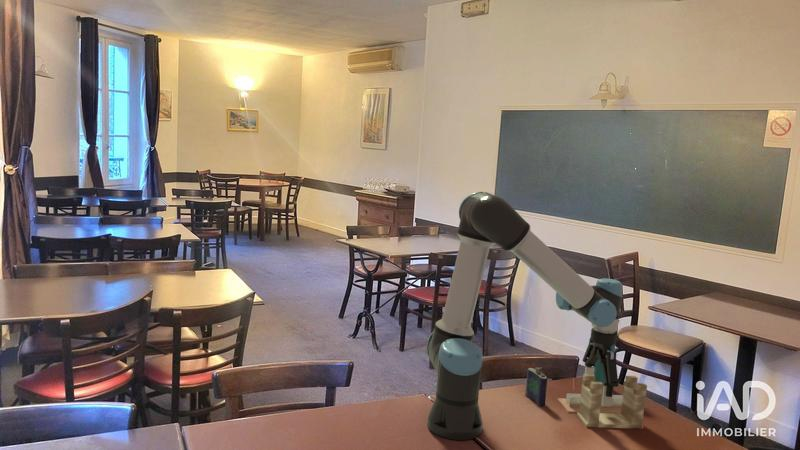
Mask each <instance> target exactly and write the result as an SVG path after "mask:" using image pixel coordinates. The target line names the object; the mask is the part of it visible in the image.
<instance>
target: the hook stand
mask: <svg viewBox="0 0 800 450" xmlns="http://www.w3.org/2000/svg"><path fill="white" fill-rule="evenodd" d="M638 379H639V378H638V377H637V375H636V376H635V375H625V378H624V386H623V394H622V395H623V400H622V408H621V414H610V413H600V407H601V398H602V395H603V383H602V382H595V376H594V375H593V374H585V373H583V374H582V381H581V392H580V394H581V398H580V407H579V413H576V416H577V417H578V419H579V420H580V421H581V423H582V424H583V425H584V426H585V427H586V428H605V429H606V428H608V429H609V428H610V429H644V424H643V420H644V413H645V407H646V406H645V404H646V398H647V390H648V385H647V384H645V383H643V382H642V383H641V382H638Z"/></svg>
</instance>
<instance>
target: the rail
mask: <svg viewBox="0 0 800 450" xmlns="http://www.w3.org/2000/svg"><path fill="white" fill-rule="evenodd" d="M565 397H566V403H567V405H568V406H569V407H580V398H581V393H566V395H565ZM622 400H623V394H613V395H612V403H611V406H602V405H601V407H600V408H622ZM601 403H602V398H601Z"/></svg>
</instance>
